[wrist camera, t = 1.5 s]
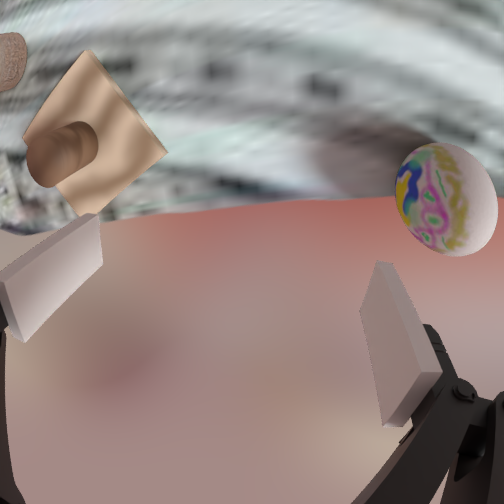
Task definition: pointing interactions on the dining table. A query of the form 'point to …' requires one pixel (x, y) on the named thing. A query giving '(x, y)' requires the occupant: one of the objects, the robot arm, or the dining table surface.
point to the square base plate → (89, 138)
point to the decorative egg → (446, 199)
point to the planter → (11, 59)
